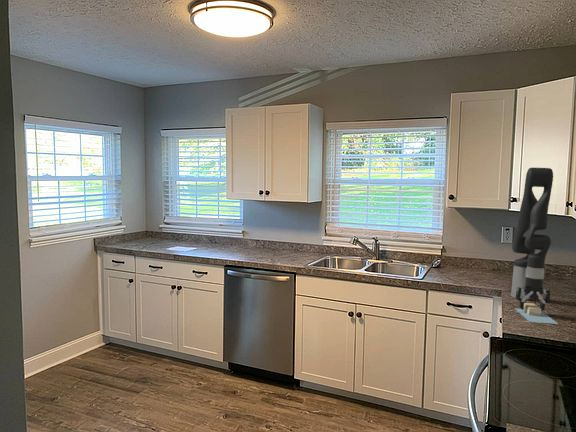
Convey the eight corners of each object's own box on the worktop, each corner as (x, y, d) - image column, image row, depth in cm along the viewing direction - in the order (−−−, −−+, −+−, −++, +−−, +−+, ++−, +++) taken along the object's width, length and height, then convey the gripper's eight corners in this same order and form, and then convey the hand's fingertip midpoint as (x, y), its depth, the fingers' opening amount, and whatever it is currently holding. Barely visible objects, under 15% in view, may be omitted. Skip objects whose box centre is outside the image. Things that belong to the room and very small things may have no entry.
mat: (514, 309, 215) (514, 308, 215) (540, 311, 213) (540, 310, 213) (529, 322, 196) (529, 321, 196) (558, 324, 194) (558, 324, 194)
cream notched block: (522, 309, 214) (522, 302, 214) (533, 310, 213) (533, 303, 213) (529, 314, 205) (529, 308, 205) (540, 315, 205) (541, 309, 204)
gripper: (547, 275, 210) (544, 309, 212) (515, 273, 213) (512, 306, 214) (554, 279, 203) (551, 313, 204) (521, 277, 205) (518, 311, 207)
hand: (531, 309), depth 209 cm, fingers open, 8 cm apart
